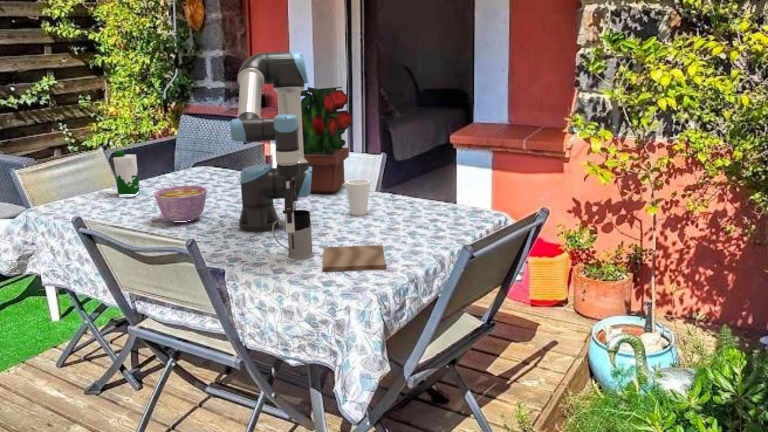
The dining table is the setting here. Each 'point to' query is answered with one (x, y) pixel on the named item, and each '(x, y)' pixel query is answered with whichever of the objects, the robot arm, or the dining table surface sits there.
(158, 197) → the bowl of food
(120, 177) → the mojito glass
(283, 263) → the dining table surface
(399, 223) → the dining table surface
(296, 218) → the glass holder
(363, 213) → the foam cup
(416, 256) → the dining table surface
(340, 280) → the dining table surface
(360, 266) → the walnut board
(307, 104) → the potted plant
